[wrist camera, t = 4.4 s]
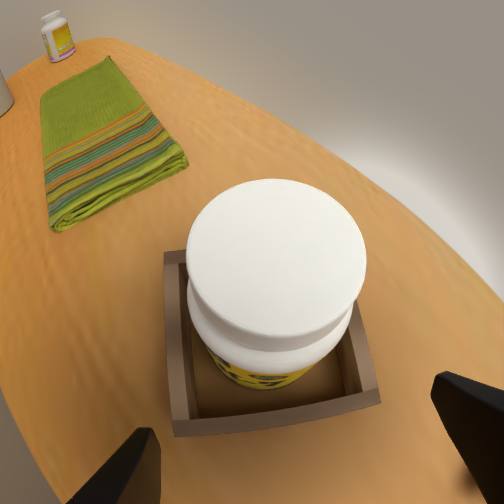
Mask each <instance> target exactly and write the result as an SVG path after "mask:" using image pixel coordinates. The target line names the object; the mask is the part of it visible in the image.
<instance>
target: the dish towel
mask: <svg viewBox="0 0 504 504" xmlns="http://www.w3.org/2000/svg"><path fill="white" fill-rule="evenodd" d="M40 102H41V125H42V141H43V160H44V175H45V185H46V197H47V204H48V210H49V226H50V228H51V229H52V230H53V231H55V232H56V233H60V232H61V231H64V230H66V229H68V228H69V227H71V226H73V225H75V224H77V223H79V222H81V221H83V220H85V219H87V218H89V217H90V216H92V215H94V214H96V213H98V212H100V211H102V210H104V209H106V208H108V207H110V206H111V205H113V204H116V203H118V202H120V201H121V200H123V199H125V198H127V197H129V196H131V195H133V194H136V193H138V192H140V191H142V190H144V189H146V188H148V187H150V186H152V185H154V184H156V183H157V182H159V181H162V180H164V179H166V178H168V177H171V176H173V175H175V174H177V173H179V172H180V171H182V170H184V169H186V168H187V167H188V166H189V163H188V160H187V157H186V156H185V155H184V152H183V150H182V149H181V147H180V145H179V143H177V142H176V141H175V140H174V139H173V138H172V136H171V135H170V134H169V133H168V132H167V131H166V129H165V128H164V127H163V126H162V124H161V123H160V121H159V120H158V119H157V118H156V116H155V115H154V114H153V113H152V111H151V110H150V108H149V106H148V105H147V104H146V103H145V101H144V100H143V99H142V98H141V96H140V95H139V94H138V92H137V91H136V90H135V89H134V87H133V86H132V85H131V83H130V82H129V81H128V79H127V78H126V77H125V75H124V74H123V73H122V72H121V71H120V70H119V68H118V67H117V66H116V64H115V63H114V61H112V60H111V58H110V56H107V57H106V58H105V59H104V60H103V61H102V62H100V63H98V64H96V65H94V66H92V67H90V68H89V69H87V70H85V71H83V72H81V73H79V74H77V75H74V76H72V77H71V78H69V79H67V80H65V81H63V82H61V83H59V84H58V85H56V86H54V87H52V88H51V89H49V90H48V91H46V92H45V93H44V94H43V95H42V97H41V100H40Z"/></svg>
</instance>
